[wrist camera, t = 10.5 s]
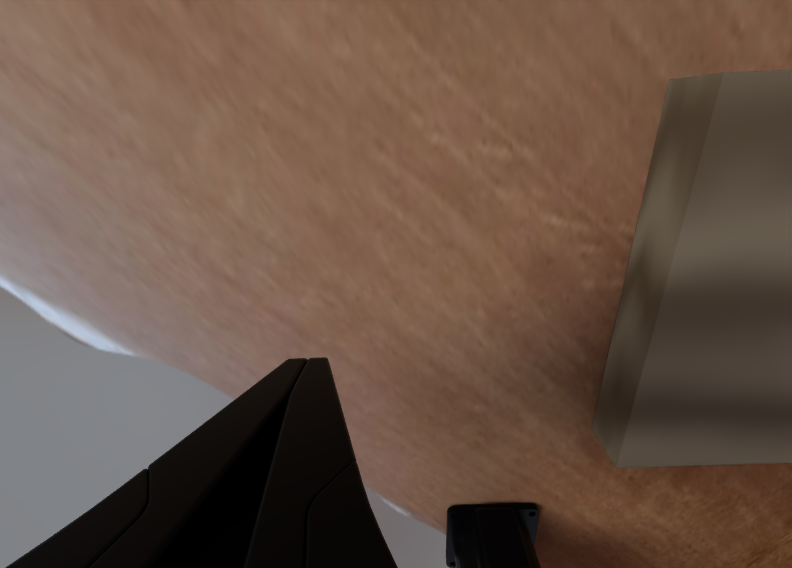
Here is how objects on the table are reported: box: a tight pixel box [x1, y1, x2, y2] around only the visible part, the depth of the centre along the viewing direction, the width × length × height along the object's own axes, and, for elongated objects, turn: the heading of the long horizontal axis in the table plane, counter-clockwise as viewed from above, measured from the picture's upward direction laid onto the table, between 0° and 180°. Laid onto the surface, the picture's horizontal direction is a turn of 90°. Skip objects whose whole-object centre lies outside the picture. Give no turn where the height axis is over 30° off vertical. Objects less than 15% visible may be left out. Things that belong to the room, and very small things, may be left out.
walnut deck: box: [592, 70, 792, 468], centre depth 19 cm, size 20×14×3 cm
